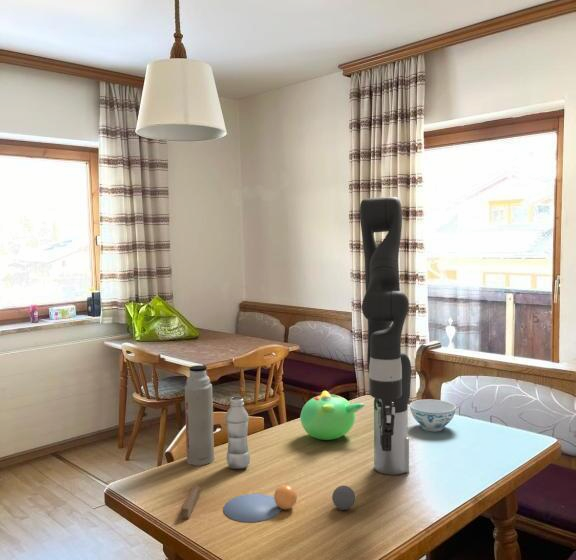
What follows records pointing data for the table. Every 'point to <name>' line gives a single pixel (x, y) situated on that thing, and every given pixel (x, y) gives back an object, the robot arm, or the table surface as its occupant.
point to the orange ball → (285, 497)
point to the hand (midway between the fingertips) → (385, 447)
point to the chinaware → (432, 413)
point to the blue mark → (251, 508)
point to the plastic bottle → (237, 434)
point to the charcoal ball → (343, 497)
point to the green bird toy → (328, 416)
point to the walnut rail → (190, 502)
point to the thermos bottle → (199, 417)
